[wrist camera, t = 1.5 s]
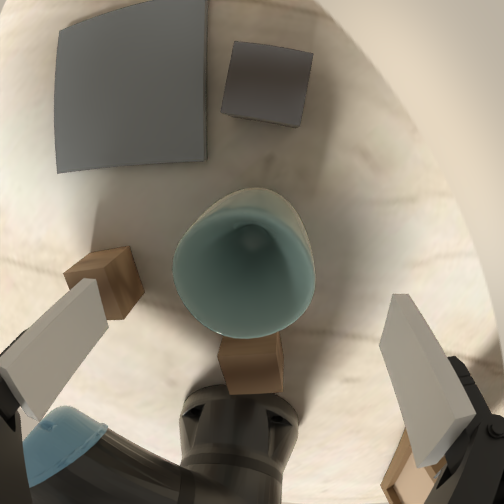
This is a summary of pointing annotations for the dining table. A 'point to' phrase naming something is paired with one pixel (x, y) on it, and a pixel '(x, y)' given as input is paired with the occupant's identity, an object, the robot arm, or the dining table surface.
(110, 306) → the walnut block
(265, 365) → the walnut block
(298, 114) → the charcoal block front
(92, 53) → the slate board
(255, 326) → the cup
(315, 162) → the dining table surface
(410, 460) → the photo frame
